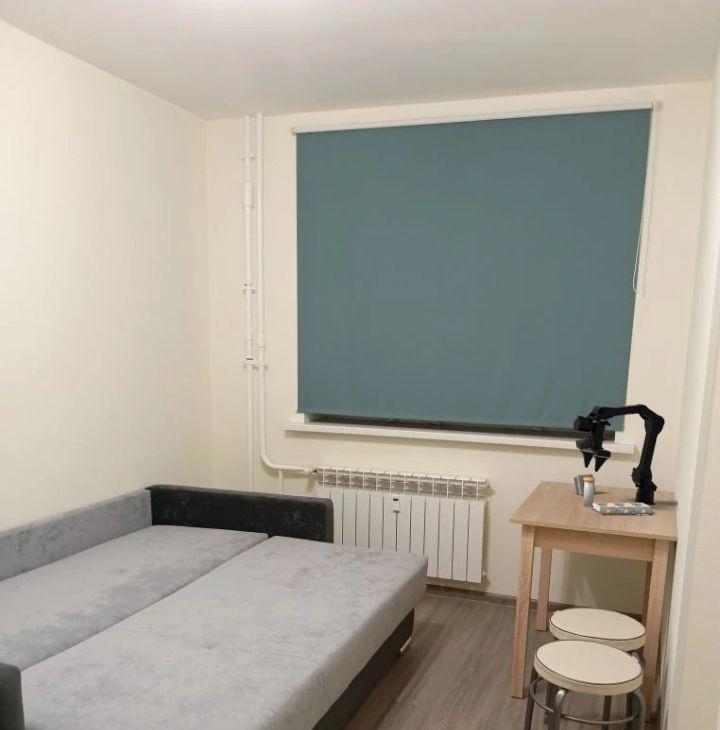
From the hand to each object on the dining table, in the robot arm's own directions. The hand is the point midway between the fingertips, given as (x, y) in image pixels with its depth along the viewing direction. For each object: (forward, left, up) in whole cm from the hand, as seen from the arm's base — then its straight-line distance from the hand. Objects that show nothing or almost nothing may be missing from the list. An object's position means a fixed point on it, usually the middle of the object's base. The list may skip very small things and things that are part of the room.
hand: (590, 469), depth 289 cm
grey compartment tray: (-8, +14, -15) cm, 22 cm away
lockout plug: (+2, +4, -15) cm, 16 cm away
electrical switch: (-6, -19, -15) cm, 25 cm away
